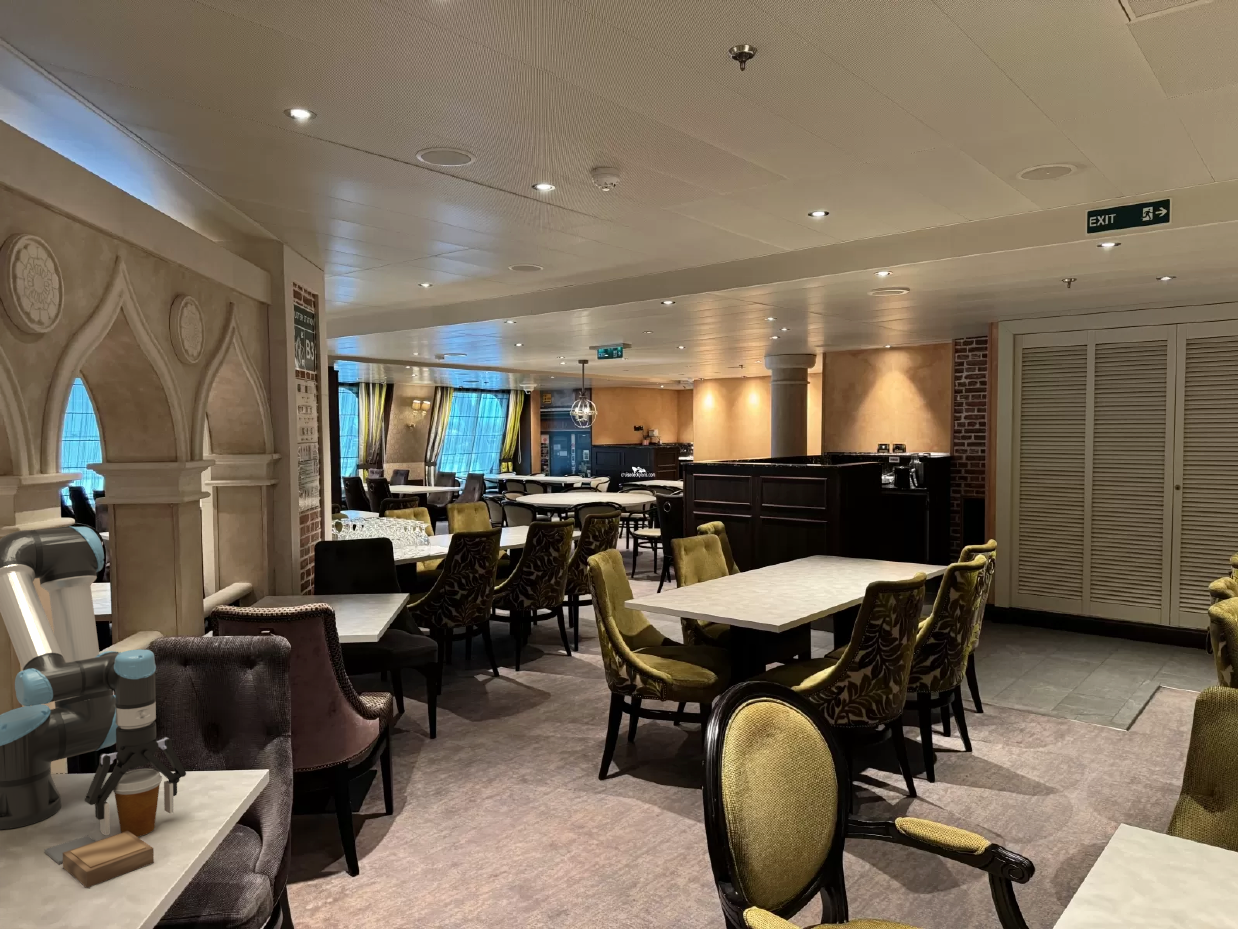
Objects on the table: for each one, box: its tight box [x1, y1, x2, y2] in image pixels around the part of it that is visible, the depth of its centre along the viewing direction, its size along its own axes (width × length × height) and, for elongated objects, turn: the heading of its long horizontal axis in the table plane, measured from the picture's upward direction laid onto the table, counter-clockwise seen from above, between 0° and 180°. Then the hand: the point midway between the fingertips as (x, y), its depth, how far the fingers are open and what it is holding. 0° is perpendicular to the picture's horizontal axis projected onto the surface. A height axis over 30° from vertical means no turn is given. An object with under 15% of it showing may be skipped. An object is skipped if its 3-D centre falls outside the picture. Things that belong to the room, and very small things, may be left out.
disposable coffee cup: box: [112, 768, 163, 838], centre depth 183 cm, size 10×10×12 cm
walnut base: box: [62, 831, 155, 888], centre depth 169 cm, size 12×12×3 cm
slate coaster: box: [44, 834, 97, 865], centre depth 175 cm, size 8×8×1 cm
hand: (137, 822), depth 184 cm, fingers open, 12 cm apart
